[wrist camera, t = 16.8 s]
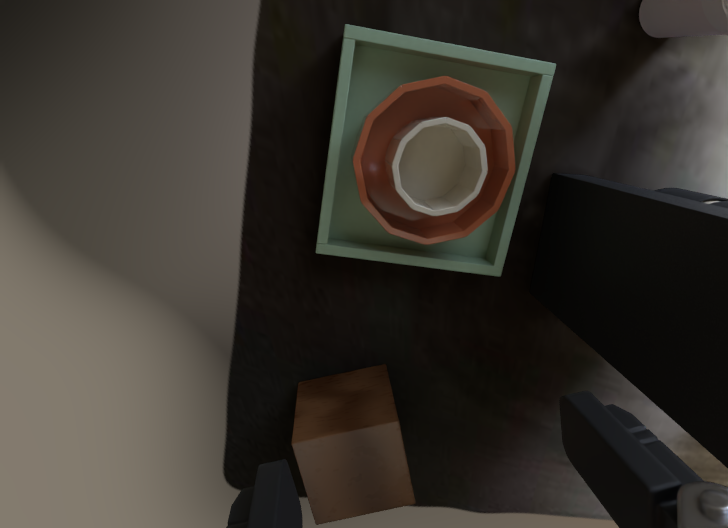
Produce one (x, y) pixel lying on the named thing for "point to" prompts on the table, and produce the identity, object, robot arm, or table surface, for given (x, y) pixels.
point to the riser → (350, 445)
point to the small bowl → (436, 165)
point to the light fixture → (644, 291)
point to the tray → (371, 84)
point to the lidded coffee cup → (684, 17)
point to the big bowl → (420, 103)
